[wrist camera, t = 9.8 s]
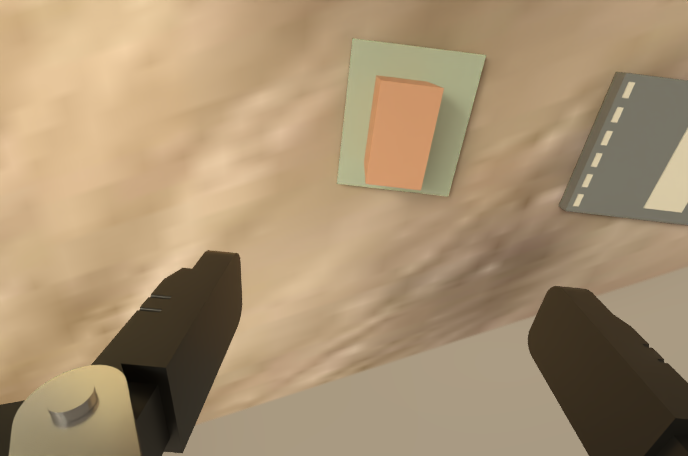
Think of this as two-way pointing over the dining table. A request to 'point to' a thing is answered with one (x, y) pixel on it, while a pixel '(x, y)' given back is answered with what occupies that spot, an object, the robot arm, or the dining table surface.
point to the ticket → (635, 153)
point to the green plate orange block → (406, 116)
